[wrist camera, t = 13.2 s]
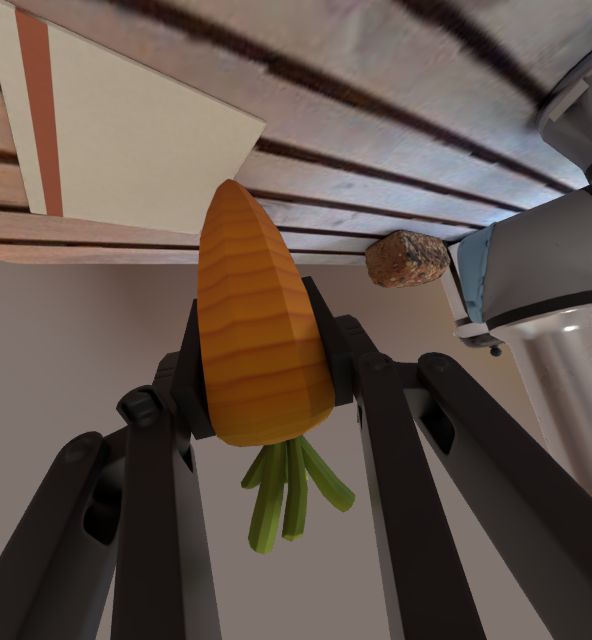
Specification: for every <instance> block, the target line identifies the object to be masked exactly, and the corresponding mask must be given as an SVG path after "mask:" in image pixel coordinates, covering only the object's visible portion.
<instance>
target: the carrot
mask: <svg viewBox="0 0 592 640" xmlns="http://www.w3.org/2000/svg"><path fill="white" fill-rule="evenodd" d="M197 296H198V298H197V313H198V323H199V334H200V344H201V354H202V363H203V371H204V379H205V386H206V394H207V402H208V409H209V416H210V420H211V424H212V427H213V429H214V431H215V433H216V435H217V437H218V438H220V439H222V440H223V441H224V442H226V443H227V444H229V445H234V446H238V447H245V446H260V445H264V446H263V448H262V450H261V451H260V453H259V454H258V456H257V457H256V459H255V460H254V462H253V464H252V465H251V467H250V469H249V471H248V472H247V474H246V476H245V477H244V479H243V481H242V482H241V486H242V488H245V489H251V488H254V487H256V486H257V485H259V483H260V482H261V484H260V488H259V492H258V497H257V500H256V504H255V508H254V513H253V517H252V521H251V526H250V531H249V536H248V540H249V544H250V547H251V548H252V549H253V550H254V551H256V552H258V553H262V554H265V553H268V552H270V551H272V549H273V545H274V540H275V537H276V533H277V528H278V523H279V517H280V512H281V506H282V500H283V490H284V483H288V495H287V501H286V508H285V515H284V522H283V530H282V538H284V539H286V540H289V541H293V540H295V539H297V538H299V537H301V536H302V535H303V531H304V524H305V517H306V505H307V490H308V488H307V480H308V476H307V474H306V471H305V468H306V470H307V471H308V473H309V474H310V476H311V477H312V479H313V480H314V482H315V483H316V485H317V487H318V488H319V490H320V491H321V493H322V494H323V496H324V497H325V498H326V499H327V500H328V501H329V502H330V503H331V504H332V505H333V506H334V507H336V508H337V509H339V510H340V511H342V512H345V511H347V510H349V508H351V506H352V505H353V503H354V501H355V494H354V493H353V492H351V490H350V489H349V488H348V487H347V486H345V485H344V484H343V483H342V482H341V481H340V480H339V479H338V478H337V477H336V475H335V474H334V473H333V472H332V471H331V469H330V468H329V467H328V466H327V465H326V463H325V462H324V461H323V460H322V459H321V457H320V456H319V455H318V454H317V453H316V451H315V450H314V449H313V448H312V446H311V445H310V444H309V443H308V441H307V440H306V439H305V438H304V437H303V434H305V433H306V432H308V431H310V430H311V429H313V428H315V427H316V426H318V425H320V424H321V423H322V422H323V421H324V420H325V419H326V418H328V416H329V415H330V413H331V411H332V409H333V408H334V406H335V391H334V387H333V382H332V378H331V374H330V370H329V366H328V362H327V359H326V355H325V351H324V347H323V344H322V340H321V336H320V333H319V330H318V327H317V323H316V320H315V317H314V313H313V310H312V307H311V304H310V300H309V297H308V294H307V291H306V289H305V286H304V284H303V282H302V280H301V277H300V275H299V273H298V270H297V268H296V266H295V263H294V261H293V259H292V257H291V255H290V253H289V251H288V249H287V246H286V244H285V242H284V240H283V238H282V236H281V234H280V232H279V230H278V229H277V227H276V226H275V225H274V223H273V222H272V220H271V219H270V217H269V216H268V215H267V213H266V212H265V210H264V209H263V207H262V206H261V205H260V204H259V203H258V202H257V201H256V200H255V199H254V198H253V197H252V195H251V194H250V193H249V192H248V191H247V190H246V189H245V188H244V187H243V186H242V185H241V184H239V183H237V182H236V181H234V180H231V179H227V180H225V181H224V182H223V183H222V184H221V185H219V186H218V187H217V189H216V192H215V194H214V196H213V199H212V201H211V203H210V206H209V208H208V210H207V213H206V217H205V221H204V225H203V229H202V233H201V237H200V248H199V263H198V293H197Z"/></svg>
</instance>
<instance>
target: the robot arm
mask: <svg viewBox="0 0 592 640" xmlns="http://www.w3.org/2000/svg"><path fill="white" fill-rule="evenodd" d="M536 126H537V128H538V131H539V133H540V135H541V137H542V139H543V141H544V142H546V143H547V144H549V145H550V146H551V147H553V148H554V149H555V150H557V151H558V152H559V153H561V154H562V155H563V156H565V157H566V158H567V159H569V160H570V161H571V162H573V163H574V164H575V165H577V166H578V167H579V168H581V170H582V171H583V173H584V175H585V177H586V179H587V181H588V183H589V185H588V186H586V187H583V188H581V189H578V190H576V191H573V192H571V193H569V194H566V195H564V196H561V197H559V198H556V199H554V200H552V201H549V202H547V203H544V204H542V205H539V206H537V207H534V208H532V209H529V210H527V211H524V212H522V213H519V214H517V215H514V216H512V217H509V218H507V219H504V220H502V221H499V222H494V223H492V224H491V225H490V226H488V227H486V228H484V229H482V230H480V231H478V232H476V233H473V234H471V235H469V236H467V237H465V238H464V239H463V240H462V241H461V242H460V244H459V246H458V249H457V262H458V270H459V276H460V282H461V287H462V291H463V296H464V299H465V301H466V306H467V311H468V314H469V317H470V319H471V321H472V322H474V323H479V324H483V323H484V322H486V325H487V328H488V331H489V333H490V335H491V336H494V337H496V338H498V339H500V340H502V341H504V342H506V343H507V344H508V345H509V346H510V348H511V351H512V354H513V356H514V359H515V361H516V364H517V367H518V369H519V372H520V375H521V377H522V380H523V383H524V385H525V388H526V391H527V393H528V396H529V399H530V401H531V404H532V407H533V409H534V412H535V415H536V417H537V420H538V423H539V425H540V428H541V431H542V433H543V436H544V439H545V441H546V444H547V447H548V449H549V452H550V455H551V456H550V455H549V454H548V453H547V452H546V451H545V450H544V449H543V448H542V447H541V446H540V445H539V444H538V443H537V442H536V441H535V440H534V439H533V438H532V437H531V436H530V435H529V434H528V433H527V432H526V431H525V430H524V429H523V428H522V427H521V426H520V425H519V424H518V423H517V422H516V421H515V420H514V419H513V418H512V417H511V416H510V415H509V414H508V413H507V412H506V411H505V410H504V409H503V408H502V407H501V406H500V405H499V404H498V403H497V402H496V401H495V400H494V399H493V398H492V397H491V396H490V395H489V394H488V392H487V391H485V390H484V388H483V387H482V386H480V384H479V383H477V381H475V379H474V378H472V376H470V375H469V374H468V373H467V372H466V371H465V369H464V368H462V367H461V365H460V364H459V363H458V362H456V361H455V360H454V359H453V358H451V357H450V356H448V355H445V354H442V353H436V352H432V353H426V354H423V355H421V357H420V358H419V359H418V363H401V362H395V361H393V360H392V358H390V357H389V356H387V355H386V354H382V353H380V352H379V351H378V349H377V348H376V346H375V345H374V344H373V342H372V340H371V339H370V338H369V336H368V335H367V333H365V330H364V329H363V328H362V326H361V324H360V323H359V321H358V320H357V319H356V318H354V317H352V316H351V315H349V314H348V315H343V316H339V317H333V316H332V314H331V312H330V310H329V308H328V307H327V305H326V303H325V301H324V299H323V298H322V296H321V294H320V292H319V291H318V289H317V287H316V285H315V283H314V282H313V280H312V278H311V276H309V277H303V278H301V280H302V282H303V284H304V286H305V289H306V291H307V294H308V297H309V300H310V304H311V307H312V310H313V313H314V317H315V320H316V323H317V327H318V330H319V333H320V336H321V340H322V344H323V347H324V351H325V355H326V359H327V362H328V366H329V370H330V374H331V378H332V382H333V387H334V391H335V407H336V406H340V405H344V404H349V403H352V402H353V394H354V396H355V398H356V401H357V411H358V412H357V414H358V415H357V417H358V420H357V422H358V423H359V425H360V432H361V438H362V444H363V451H364V459H365V466H366V473H367V480H368V486H369V493H370V500H371V507H372V514H373V520H374V527H375V534H376V541H377V548H378V555H379V562H380V568H381V574H382V582H383V589H384V596H385V603H386V609H387V616H388V623H389V630H390V637H391V640H487V639H486V636H485V633H484V630H483V627H482V624H481V621H480V618H479V615H478V612H477V609H476V606H475V603H474V600H473V597H472V594H471V591H470V588H469V585H468V582H467V579H466V576H465V573H464V570H463V567H462V564H461V561H460V559H459V555H458V552H457V549H456V546H455V544H454V540H453V537H452V534H451V531H450V528H449V525H448V522H447V519H446V516H445V514H444V511H443V507H442V504H441V501H440V498H439V495H438V493H437V489H436V486H435V483H434V480H433V477H432V474H431V471H430V468H429V465H428V462H427V459H426V456H425V453H424V450H423V447H422V444H421V441H420V438H419V435H418V432H417V429H416V426H415V423H414V420H415V422H416V423H417V425H418V427H419V428H420V430H421V431H422V433H423V434H424V436H425V438H426V439H427V441H428V442H429V444H430V445H431V447H432V448H433V450H434V451H435V453H436V455H437V456H438V458H439V459H440V461H441V463H442V464H443V465H444V467H445V469H446V471H447V472H448V474H449V475H450V477H451V478H452V480H453V482H454V483H455V485H456V486H457V488H458V489H459V491H460V492H461V494H462V496H463V497H464V499H465V500H466V502H467V503H468V505H469V507H470V508H471V510H472V511H473V513H474V514H475V516H476V518H477V519H478V521H479V522H480V524H481V525H482V527H483V529H484V530H485V532H486V533H487V535H488V536H489V538H490V540H491V541H492V543H493V544H494V546H495V547H496V549H497V550H498V552H499V554H500V555H501V557H502V558H503V560H504V561H505V563H506V565H507V566H508V568H509V569H510V571H511V572H512V574H513V576H514V577H515V579H516V580H517V582H518V583H519V585H520V587H521V588H522V590H523V591H524V593H525V595H526V596H527V598H528V599H529V601H530V602H531V604H532V605H533V607H534V609H535V610H536V612H537V613H538V615H539V617H540V618H541V620H542V621H543V623H544V624H545V626H546V628H547V629H548V630H549V632H550V634H551V635H552V637H553V639H554V640H592V53H591V54H589V55H588V56H587V57H586V58H585V59H584V60H583V61H582V62H581V63H579V64H578V65H577V66H576V67H575V68H574V69H573V70H572V71H571V72H570V73H569V74H568V75H567V76H566V77H565V78H564V79H563V80H562V81H561V83H560V84H559V85H558V86H557V87H556V88H555V89H554V91H553V92H552V93H551V94H550V96H549V97H548V98H547V100H546V101H545V103H544V104H543V106H542V107H541V109H540V111H539V113H538V116H537V119H536ZM154 379H155V380H154V381H153V383H152V385H144V386H140V387H137V388H136V389H133V390H131V391H130V392H129V393H127V394H126V395H125V396H123V397H122V399H121V400H120V401H119V402H118V404H117V407H116V409H117V411H118V412H119V414H120V415H121V416H122V418H123V419H124V420H125V422H126V423H127V424H128V425H127V426H125V427H124V428H122V429H120V430H118V431H116V432H114V433H111V434H110V435H107V436H106V437H103V436H102V435H101V434H100V433H98V432H96V431H92V432H87V433H84V434H81V435H79V436H77V437H75V438H74V439H72V440H71V441H70V442H69V443H67V444H66V445H65V446H64V447H63V448H62V449H61V451H60V452H59V453H58V455H57V456H56V458H55V460H54V462H53V463H52V465H51V467H50V469H49V470H48V472H47V474H46V476H45V478H44V479H43V481H42V483H41V485H40V486H39V488H38V490H37V492H36V493H35V495H34V497H33V499H32V501H31V502H30V504H29V506H28V508H27V510H26V511H25V513H24V515H23V517H22V518H21V520H20V522H19V524H18V526H17V527H16V529H15V531H14V533H13V534H12V536H11V538H10V540H9V541H8V543H7V545H6V547H5V549H4V551H3V552H2V554H1V556H0V640H95V638H96V635H97V631H98V628H99V624H100V620H101V616H102V613H103V610H104V606H105V602H106V599H107V595H108V591H109V588H110V584H111V581H112V577H113V574H114V570H115V566H116V576H115V588H114V589H115V590H114V601H113V614H112V625H111V637H110V640H222V637H221V630H220V624H219V617H218V610H217V603H216V596H215V590H214V583H213V576H212V570H211V563H210V556H209V550H208V543H207V536H206V530H205V523H204V516H203V509H202V502H201V496H200V489H199V482H198V476H197V469H196V462H195V455H194V450H193V448H192V445H191V444H190V438H191V432H192V434H193V435H194V437H195V439H196V440H199V439H203V438H207V437H211V436H215V435H216V433H215V431H214V429H213V427H212V424H211V420H210V416H209V409H208V402H207V394H206V386H205V379H204V371H203V363H202V354H201V344H200V334H199V323H198V313H197V299H194V300H193V304H192V308H191V311H190V315H189V319H188V323H187V327H186V330H185V334H184V339H183V342H182V346H181V350H180V351H178V352H173V353H168V354H166V356H165V357H164V358H163V359H162V360H161V361H160V363H159V366H158V369H157V373H156V375H155V378H154ZM413 419H414V420H413ZM116 563H117V564H116Z"/></svg>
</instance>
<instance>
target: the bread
mask: <svg viewBox="0 0 592 640" xmlns="http://www.w3.org/2000/svg"><path fill="white" fill-rule="evenodd" d="M365 254H366V255H365V257H366V261H365V262H366V264H367V268H368V274H369V276H370V278H371V279H372V281H373V283H374V284H376V285H379V286H381V287H386V288H394V287H396V288H400V287H408V286H417V285H421V284H425V283H427V282H430V281H434V280H435V279H437V278H439V277H441V276H442V274H443V273H444V272H445V271H446V269H448V267H449V265H450V258H449V256H448V254H447V250H446V248H445V246H444V244H443V242H442V241H441V240H440V239H439V238H435V237H431V236H429V235H422V234H419V233H417V234H416V233H415V232H411V231H398V232H395V233H393V234H391V235H389V236H387V237H386V238H384V239H382V240H381V241H379V242H377V243H376V244H374V245H372V246H371V247H369V248H368V249H367V250H366V253H365Z"/></svg>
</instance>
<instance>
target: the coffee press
mask: <svg viewBox="0 0 592 640" xmlns="http://www.w3.org/2000/svg"><path fill="white" fill-rule="evenodd" d="M481 230H482V229H481ZM442 242H443V244H444V246H445V248H446V250H447V254H448V256H449V258H450V265H449V267H448V269H446V271H445V272H444V273H443V274H442V276H441V277H440V278H441V281H442V284H443V287H444V289H445V293H446V295H447V298H448V301H449V304H450V307H451V310H452V313H453V316H454V319H455V325H456V327H458V331H456V332H452V333H453V335H454V336H456V337H457V338H459V339H460V342H463V344H465V346H466V347H468V348H473V349H479V348H487V347H490V348H492V349H491V351H490V353H491V354H492V355H493V356H500V355H501V353H502V351H501V350H500V349H499V348H497V347H498V345H501V344H505V343H506V342H504V341H502V340H500V339H498V338H496V337H494V336H491V335H490V333H489V331H488V328H487V325H486V322H484V323H483V324H479V323H474V322H472V321H471V319H470V317H469V314H468V311H467V306H466V301H465V299H464V296H463V291H462V287H461V282H460V276H459V270H458V262H457V249H458V246H459V244H460V242H459V243H456V244H454V245H449V244H448V243H447V241H446V240H444V241H442Z"/></svg>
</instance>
